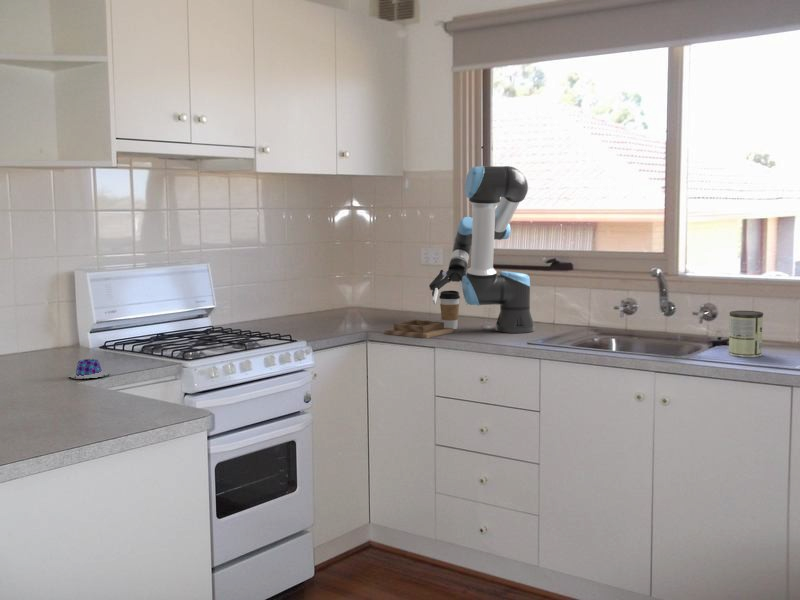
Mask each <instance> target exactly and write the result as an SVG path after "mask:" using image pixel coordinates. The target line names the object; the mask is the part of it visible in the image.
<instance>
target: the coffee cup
mask: <svg viewBox="0 0 800 600" xmlns="http://www.w3.org/2000/svg"><path fill="white" fill-rule="evenodd" d="M438 296H439V297H438V298H439V301H440V304H439V305H440V317H441V322H444V328H453V330H457V329H458V318H459V312H460V310H459V309H460V298H461V296H460V293H459V291H457V290H442V291H440V295H438Z"/></svg>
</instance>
